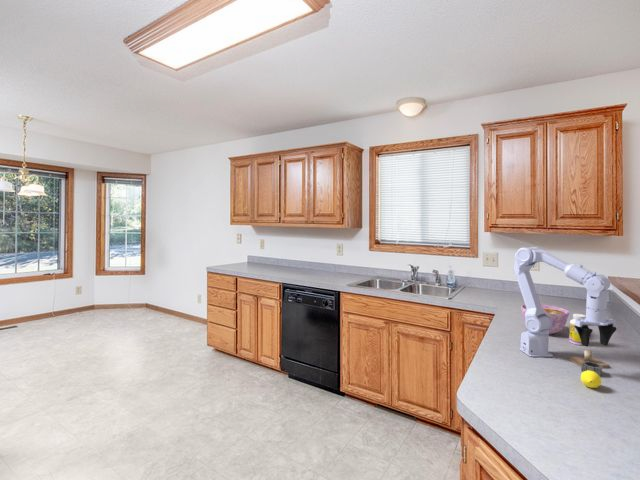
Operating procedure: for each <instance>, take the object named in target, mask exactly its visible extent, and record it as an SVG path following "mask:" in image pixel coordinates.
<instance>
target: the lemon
mask: <svg viewBox="0 0 640 480" xmlns="http://www.w3.org/2000/svg"><path fill="white" fill-rule="evenodd" d="M580 380H581V382H582V384H583V385H584V386H586V387H588V388H589V389H597V388H599V387H600V386H601V385H602V379H601V376H599V375H598V374H597V373H595V372H594V371H589V370H587V371H584V372H581V374H580Z"/></svg>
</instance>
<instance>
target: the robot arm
mask: <svg viewBox="0 0 640 480" xmlns="http://www.w3.org/2000/svg"><path fill="white" fill-rule="evenodd" d="M513 257H514V264H513V271H514V274H515V278H516V280H517V283H518V287H519V290H520V293H521V295H522V299H523V302H524V305H525V306H526V309H527V311H526V313H525V318H526V322H525V321H524V325H525V328H526V331H523V332H521V334H520V345H519V346H520V348H518V350H519V351H521V352H522V353H524V354H526V355H527V356H529V357H537V358H538V357H541V358H542V357H545V358H548V357H552V358H553V357H554V355H553V354H552V353H549V337H550V334H549V329H550V328H551V327H552V320H551V319H550V318H549V317H548V315H547V313H546V311H545V310H544V309H543V308H542V307H541V305H542V303H541V302H540V299H539V296H538V292H537V290H536V287H535V284H534V281H533V278H532V275H531V272H530V271H531V269H532V268H533V266H534V265H536V264H537V263H545V264H547V265H548V266H552V267H554V268H555V269H558V270H560V271H562V272H564V275H565V277H567V278H568V279H570V280H573V281H574V282H577V284H580V285H582V286H584V288H585V289H586V301H585V302H586V303H585V304H586V305H585V316H586V318H585V319H581V320H575V328H576V330H577V331H578V334H579V336H580V339H581V343H582V345H581V346H583V347H589V346H590V339H591V335H592V333H593V331H594V330H593V329H592V328H590V327H593V326H594V327H596V326H597V327H598V332H599V344H600V345H603V346H605V347H607V346H609V345H608V344H609V342H610V340H611V337H612V336H613V335H614V333H615V332H616V331H617V327H616V325H617V321H616V320H615V319H611V318H607V307H608V305H607V304H608V289H609V288H610V287H611V282H610V279H609V278H608V277H607V276H605V275H604V274H597V272H595V271H591V270H589V269H586V267H584V266H583V265H582V264H581V263H578V264H576V263H573V264H569V263H567V262H566V261H564V260H563V259H561V258H559V257H556V256H555V255H553V254H551V253H549V252H548V251H546V250H544V249H541V248H539V247H537V246H532V247H531V246H530V247H520V248H519V249H518V250H517V251H516V253H515V254H514V256H513Z"/></svg>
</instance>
